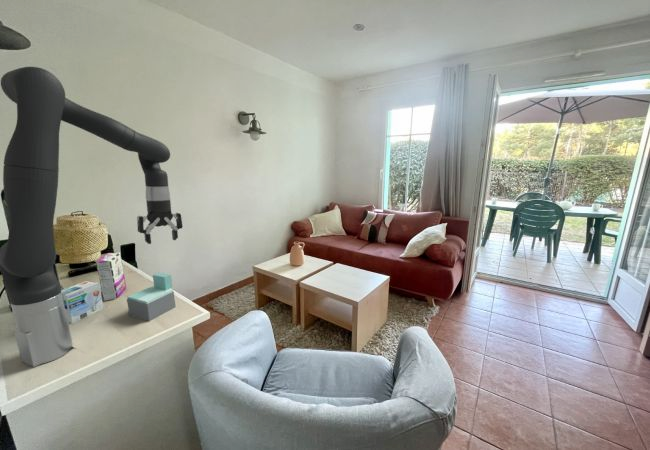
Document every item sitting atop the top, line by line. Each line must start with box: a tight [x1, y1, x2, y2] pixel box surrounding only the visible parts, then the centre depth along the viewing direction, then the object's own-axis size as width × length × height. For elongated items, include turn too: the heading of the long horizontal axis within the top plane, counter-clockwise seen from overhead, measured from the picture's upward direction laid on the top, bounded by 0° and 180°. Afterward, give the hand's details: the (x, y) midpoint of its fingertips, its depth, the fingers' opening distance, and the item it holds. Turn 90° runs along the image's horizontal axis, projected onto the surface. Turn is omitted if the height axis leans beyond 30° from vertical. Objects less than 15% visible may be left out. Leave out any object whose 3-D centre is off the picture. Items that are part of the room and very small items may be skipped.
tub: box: [126, 291, 176, 322], centre depth 94 cm, size 10×10×7 cm
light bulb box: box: [61, 281, 104, 325], centre depth 91 cm, size 11×7×11 cm, turn 168°
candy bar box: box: [95, 252, 127, 302], centre depth 107 cm, size 11×5×16 cm, turn 22°
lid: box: [127, 272, 174, 304], centre depth 93 cm, size 11×10×7 cm
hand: (162, 241), depth 99 cm, fingers open, 8 cm apart
